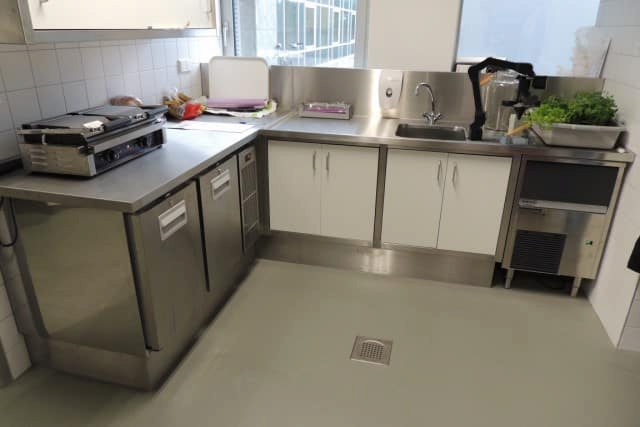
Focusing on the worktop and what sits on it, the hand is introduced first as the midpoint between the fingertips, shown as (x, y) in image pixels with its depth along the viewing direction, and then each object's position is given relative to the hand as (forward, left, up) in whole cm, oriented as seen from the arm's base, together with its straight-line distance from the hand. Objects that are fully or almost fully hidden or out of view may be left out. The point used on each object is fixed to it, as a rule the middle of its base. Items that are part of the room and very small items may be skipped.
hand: (518, 119), depth 240 cm
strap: (0, 0, -6) cm, 6 cm away
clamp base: (+1, 0, -13) cm, 13 cm away
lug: (+6, -4, -13) cm, 15 cm away
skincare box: (+9, +17, -13) cm, 23 cm away
